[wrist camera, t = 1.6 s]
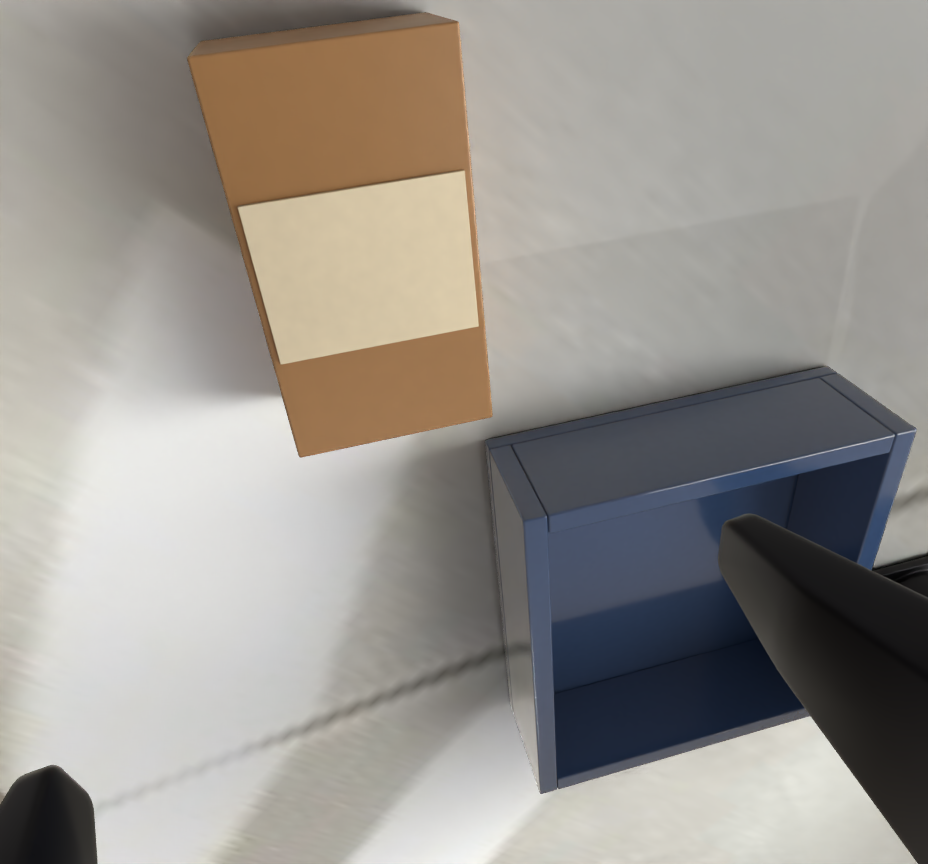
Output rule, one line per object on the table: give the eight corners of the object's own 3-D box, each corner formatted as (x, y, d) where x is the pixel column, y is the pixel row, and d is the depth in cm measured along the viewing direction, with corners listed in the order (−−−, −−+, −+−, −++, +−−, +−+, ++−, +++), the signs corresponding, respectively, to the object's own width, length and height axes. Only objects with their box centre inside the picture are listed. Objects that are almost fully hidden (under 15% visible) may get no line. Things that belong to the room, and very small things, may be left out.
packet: (427, 11, 18) (460, 20, 15) (465, 362, 23) (494, 419, 20) (198, 41, 17) (185, 57, 14) (294, 396, 23) (299, 460, 20)
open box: (827, 364, 27) (918, 428, 23) (767, 634, 36) (826, 711, 32) (484, 439, 25) (522, 521, 22) (509, 704, 34) (540, 795, 30)
